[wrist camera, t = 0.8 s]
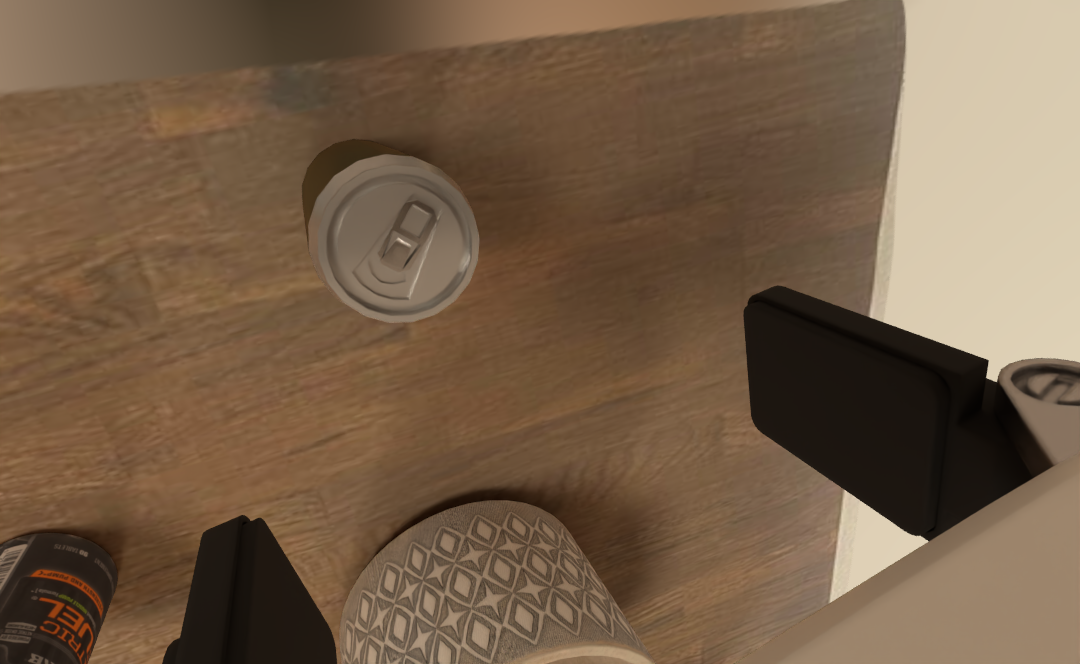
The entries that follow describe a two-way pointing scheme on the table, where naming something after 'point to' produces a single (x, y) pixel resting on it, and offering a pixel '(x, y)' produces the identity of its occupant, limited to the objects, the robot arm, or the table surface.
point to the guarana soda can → (388, 231)
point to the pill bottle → (53, 598)
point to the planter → (485, 595)
